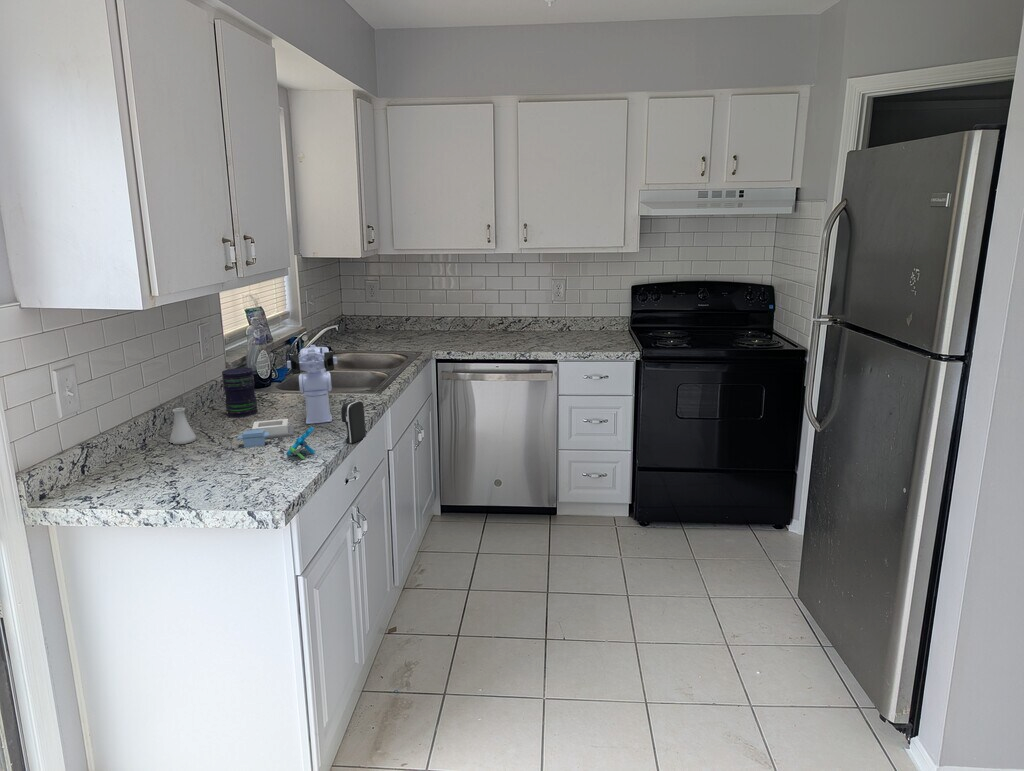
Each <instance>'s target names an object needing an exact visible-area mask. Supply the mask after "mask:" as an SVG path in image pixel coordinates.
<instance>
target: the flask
mask: <svg viewBox="0 0 1024 771" xmlns="http://www.w3.org/2000/svg"><path fill="white" fill-rule="evenodd" d="M185 410H186V408H185V407H177V408H173V409H172V411H171V412H172V413H173V415H174V416H173V417H174V418H173V420H174V421H173V425H172V430H171V434H170V437H169V442H170V443H169V442H168V443H169V444H171V443H173V444H172V445H186V444H189V443H192V442H195V441H196V440H197V438H198V437H197V436H196V434H195V432H194V431H193V429H192V427H191V426H190V423H189V422H188V420H187V416H186V412H185Z"/></svg>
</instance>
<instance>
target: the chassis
mask: <svg viewBox="0 0 1024 771" xmlns="http://www.w3.org/2000/svg"><path fill="white" fill-rule="evenodd" d="M260 429H264V432H270V434H269V437H265V440H266V439H275V438H284V437H294V434H293V433H294V432H295V424H291V425H290V423H289V418H282V419H279V418H278V419H270V420H259V421H254V422H253V424H252V428H251V429H249V431H250V430H260Z"/></svg>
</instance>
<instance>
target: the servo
mask: <svg viewBox="0 0 1024 771" xmlns="http://www.w3.org/2000/svg"><path fill="white" fill-rule="evenodd" d="M269 434H270V432H264V429H260V430H250V429H249V430H244V431H243V433H242V434H238V437H237V440H242V442H243V448H253V447H262V446H263V447H264V446H265V445H266V439H265V437H269Z"/></svg>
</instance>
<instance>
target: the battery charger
mask: <svg viewBox="0 0 1024 771" xmlns="http://www.w3.org/2000/svg"><path fill="white" fill-rule="evenodd" d="M340 413H341V422H342V423H344V424H345V426H346V430H347V431H346V432H347V433H346V434H347V437H346V439H345V442H346V443H349V444H354V443H357V442H360V441H361V440H363V439H364V438H366V437H367V434H366V420H365V408H364V403H363V402H362V401H361V400H352V401H349V402H346V403H345V404H343V405H342V406H341V409H340Z"/></svg>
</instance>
